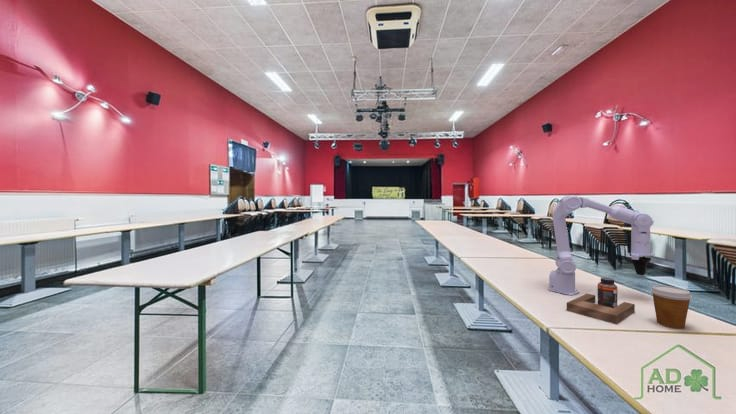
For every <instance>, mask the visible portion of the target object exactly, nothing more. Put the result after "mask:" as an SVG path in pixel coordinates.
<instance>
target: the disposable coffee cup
mask: <svg viewBox="0 0 736 414" xmlns="http://www.w3.org/2000/svg"><path fill="white" fill-rule="evenodd" d="M650 292H651V294H652V298H653V299H652V301H653V305H654V311H655V312H654V313H655V317H656V323H657V324H659V325H661V326H664V327H667V328H670V329H675V330H682V329H683V330H684V329H685V326H686V321H687V316H688V312H689V306H690V300H691V299H692V298H693V295H692V294H691V292H690V291H689V290H687V289H685V288H680V287H675V286H670V285H659V284H657V285H652V287H651V288H650Z"/></svg>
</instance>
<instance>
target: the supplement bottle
mask: <svg viewBox="0 0 736 414" xmlns="http://www.w3.org/2000/svg"><path fill="white" fill-rule="evenodd" d="M597 304H598V305H602V306H606V307H610V308H615V307H616V306H618V286H617V285H616V284H615V279H614V278H612V277H605V276H604V277H603V276H602V277H600V281H599V282H598V283H597Z"/></svg>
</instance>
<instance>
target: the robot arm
mask: <svg viewBox="0 0 736 414" xmlns="http://www.w3.org/2000/svg"><path fill="white" fill-rule="evenodd" d="M580 208H581V209H585V208H589V209H593V210H596V211H599V212H601V213H606V214H608V216H609V217H610V219H613V220H615V221H619V222H623V223H626V224H627V225H628V224H629V225H631V229H630V231H631V232H630V236H631V238H630V240H631V242H630V245H631V246H630V255H631V256H630V258H629V259H630V261H631V262H632V264H633V267H634V270H635V273H636V275H638V276H645V274H646V271H647V267H648V266H649V263H650V262H651V260H652V257H654V256H655V253H651V226H653V225H654V220H653V218H652V216H651V215H649V214H647V213H646V214H645V213H641V212H640V211H639V210H633V209H629V208H626V205H615V206H610V205H607V204H604V203H601V202H599V201H597V200H595V199H594V200H593V199H591V198H588V197H587V198H586V197H584V196H583V197H581V196H578V195H565V196H563V197H562V198H561V199H560V200H558V201H557V203H556V206H555V208H554V210H553V211H552V216H551V217H552V222H553V229H554V237H555V244H556V250H557V251H556V260H555V265H556V267H557V268H556V270H551V271H550V273H549V276H548V277H549V279H548V280H549V281H548V282H549V283H548V285H549V288H548V290H549V291H552V292H556V293H558V294H563V295H568V296H574V295H576V294H578V293H580V290H577V289H576V272H575V271H577V270H576V269H577V265H576V264H575V262H574V261H573V256H572V254H571V249H570V248H571V247H570V241H569V240H570V239H569V236H568V235H569V234H568V228H567V221H566V217H567V216H569V214H571V212H574V211H576V210H578V209H580Z"/></svg>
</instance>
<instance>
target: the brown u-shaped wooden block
mask: <svg viewBox="0 0 736 414" xmlns="http://www.w3.org/2000/svg"><path fill="white" fill-rule="evenodd" d="M596 297H597V296H596V295H595V294H591V293H584V294H583V295H581V296H578V297H576V298H574V299H572V300H569V301H567V302H566V311H568V312H571V313H575V314H579V315H581V316H585V317H588V318H593V319H597V320H600V321H604V322H606V323H610V324H614V325H618V324H620V323H621V322H622V321H624V320H625V319H627V318H628V317H630V316H631V315H633V314H635V312H636V308H635V307H636V305H635V303H631V302H626V301H624V302H622V303H620V304H617V306H616V307H615V308H610V307H606V306H602V305H598V303H596V302H597V301H596Z"/></svg>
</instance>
